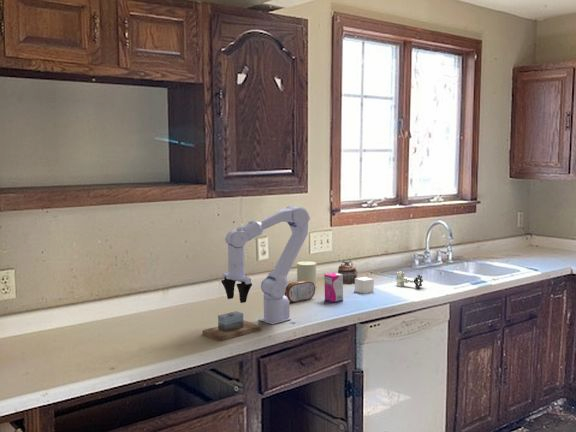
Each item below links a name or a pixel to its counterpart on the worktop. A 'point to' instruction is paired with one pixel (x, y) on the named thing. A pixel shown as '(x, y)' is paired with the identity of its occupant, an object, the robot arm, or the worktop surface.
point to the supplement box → (333, 287)
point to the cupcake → (348, 272)
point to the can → (306, 271)
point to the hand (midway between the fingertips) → (236, 300)
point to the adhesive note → (364, 285)
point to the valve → (408, 280)
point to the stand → (223, 335)
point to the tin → (300, 290)
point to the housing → (230, 321)
